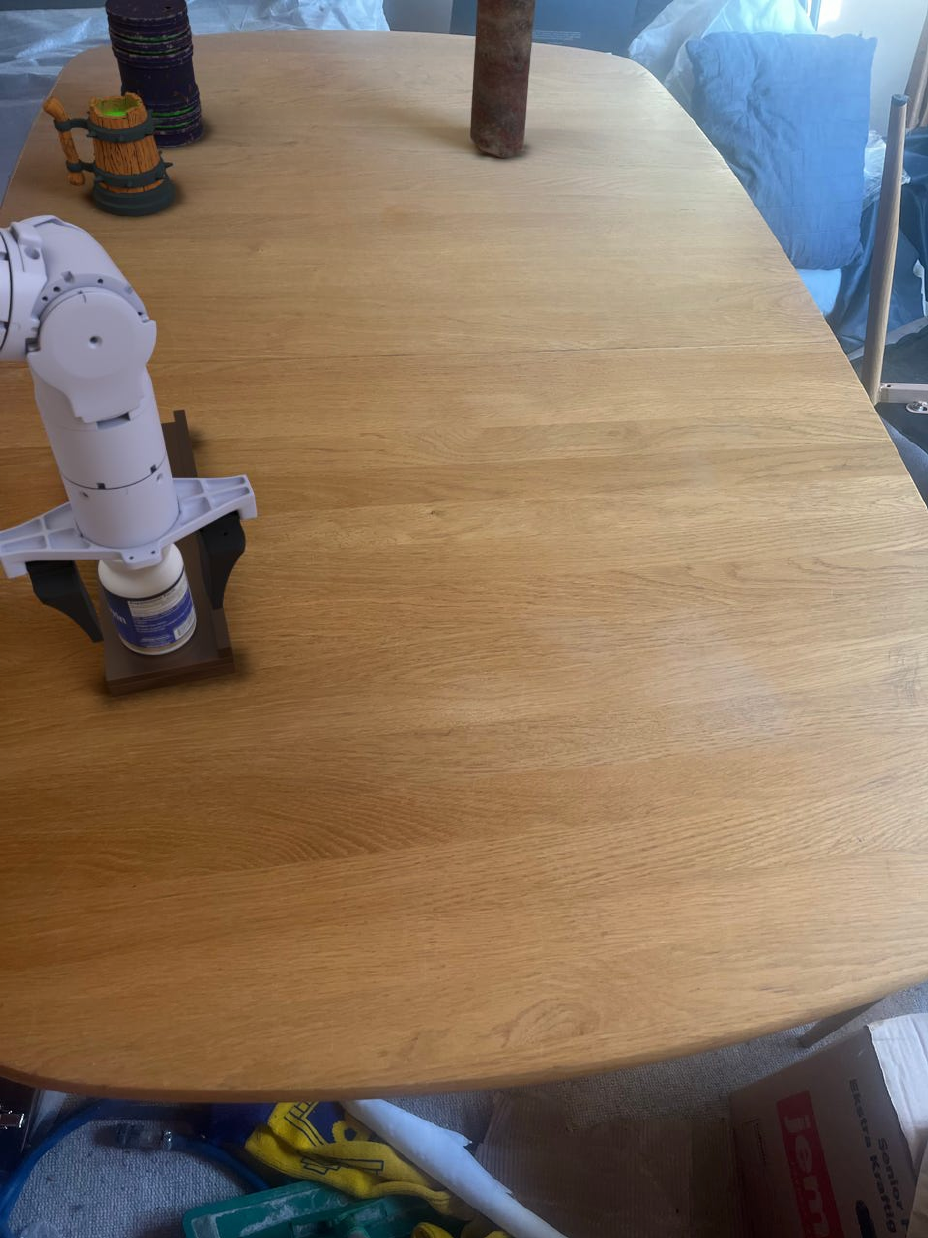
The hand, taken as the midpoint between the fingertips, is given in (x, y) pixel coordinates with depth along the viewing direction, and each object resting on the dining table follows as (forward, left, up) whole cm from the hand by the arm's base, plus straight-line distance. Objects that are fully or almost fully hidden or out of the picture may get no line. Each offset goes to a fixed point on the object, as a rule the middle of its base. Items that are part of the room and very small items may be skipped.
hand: (156, 614), depth 63 cm
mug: (+11, +75, -10) cm, 76 cm away
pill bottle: (0, +6, -8) cm, 10 cm away
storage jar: (+20, +91, -10) cm, 94 cm away
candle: (+61, +75, -10) cm, 97 cm away
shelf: (+2, +16, -10) cm, 18 cm away
